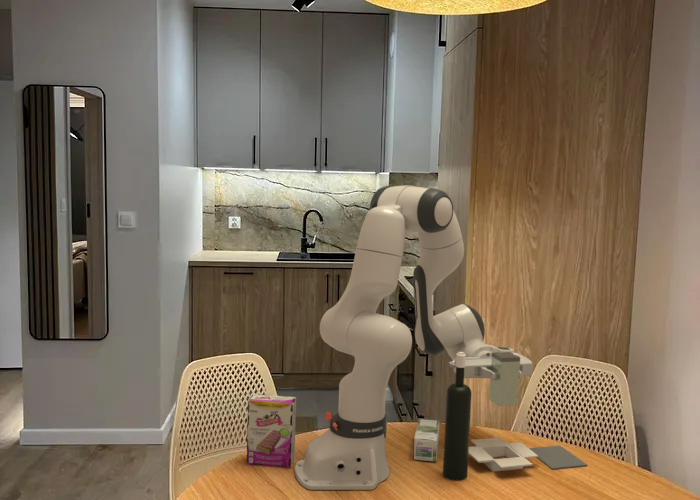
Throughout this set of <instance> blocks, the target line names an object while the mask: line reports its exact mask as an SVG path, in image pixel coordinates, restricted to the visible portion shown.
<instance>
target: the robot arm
mask: <svg viewBox="0 0 700 500" xmlns="http://www.w3.org/2000/svg"><path fill="white" fill-rule="evenodd" d="M407 232H409V233H410V232H413V233H417V237H418V242H419V246H420V256H419V260H418V263H417V265H416V266H415V268H413V272H412V275H413V276H412V278H413V279H412V283H413V284H412V285H413V289H412V290H413V301H414V314H415V315H414V317H415V318H414V319H415V321H414V322H415V323H414V337H415V343H416V344H417V346H418V348H419V350H420V351H421V352H422V353H424V354H427V355H430V356H434V357H436V356H438V355H440V354H442V353H443V352H445V351H446V352H447V354H448V356H449V357H450V359H451V361H449V362H448V366H449V367H451V368H453V372H454V373H455V374H456V354H457V353H458V352H465V355H466V357H465V368H464V379H482V380H484V379H489V380H490V379H491V380H498V373H497V372H496V371H491V361H492V353H495V352H511V353H513V354H515V355H517V356H519V357H520V369H519V380H520V379H522V378H523V377H529V376H530V377H531V376H532V374H533V369H534V367H533V361H532V360H531V359H529V358H528V357H525V356H524V355H522V354H521V353H517V352H515V350H514V349H513V348H511V347H504V346H496V345H492V344H487V343H485V342H483V341H484V340H485V334H486V333H485V332H486V329H485V325H484V320H483V318H482V316H481V315H480V313H479V312H478V310H476V309H475V308H473V306H471V305H468V304H466V303H461V304H458V305H456V306H453V307H451V308H448V309H447V310H445V311H443V312H440V313H438V314H435V315H434V305H433V295H434V292H435V290H436V288H437V287H439V285H440V284H441V283H442V282H443V280H445V279H446V278H447V277H448V276H450V275H451V274H452V273H454V271H455V270H456V269H457V268H458V267H459V266H460V264H461V263H462V261H463V258H464V257H465V256H464V255H465V245H464V239H463V235H462V231H461V228H460V224H459V220H458V217H457V215H456V213H455V210H454V204H453V201H452V200H451V198H450V196H449V194H448V193H447V192H445V191H444V190H441V189H438V188H434V187H431V188H428V187H422V186H415V185H396V186H395V185H386V186H385V185H384V186H382V187H379V188H378V189H377V190H376V191H375V192H374V193H373V196H372V197H371V201H370V204H369V210H368V212H367V213H366V215H365V218H364V219H363V222H362V226H361V229H360V232H359V235H358V239H357V243H356V249H355V253H354V258H353V264H352V268H351V273H350V276H349V281H348V282H347V286H346V288H345V290H344V292H343V294H342V295H341V297H340V299H339V300H338V301H337V303H336V304H335V305H333V306H332V307H331V308H329V309H327V311H326V312H324V314H323V316H322V318H321V320H320V323H319V333H320V337H321V339H322V340H323V342H324V343H326V344H327V345H328V346H329V347H331V348H333V349H334V350H335V351H338V352H341V353H344V354H348V355H350V356H352V357H354V365H353V368H352V372H349V373H348V374H346V375H344V376H343V378H341V380H340V382H339V384H338V386H339V387H338V406H337V407H338V411H337V412H336V413H335V414H333V413H332V412H330V411H326V413H325V414H324V419H325V421H326V422H328V423H329V429H327V430H326V431H324V432H323V433H321V434H320V435H319V436H318V437H316V438H315V439H313V440H312V441H311V442H310V443H309V444H308V445H307V447H306V451H305V456H304V458H303V459H299V460H298V461H297V462H296V464H295V466H294V467H295V468H294V475H295V478H296V480H297V482H298V483H299V484H300V485H301V486H302V487H303V488H305V489H307V490H310V491H313V490H315V491H319V490H320V491H325V490H326V491H327V490H328V491H329V490H330V491H332V490H333V491H337V490H338V491H340V490H341V491H343V490H345V491H346V490H347V491H348V490H349V491H351V490H352V491H354V490H355V491H356V490H357V491H358V490H359V491H360V490H365V491H368V490H374V489H375V488H376V487H377V486H378V484H381V482H383V481H385V480H386V479H388V477H389V476H390V468H389V465H388V459H387V454H386V453H387V451H386V442H385V441H386V440H385V439H386V436H387V429H388V427H387V426H388V425H387V424H388V423H387V420H388V419H387V414H386V399H387V388H388V383H389V379H390V377H391V374H392V373H393V371H394V369H395V368H396V367H397V366H398V365H400V364H401V363H403V362H404V361H405V360H406V359H407V357H408V356H409V354H410V353H411V350H412V345H413V336H412V332H411V329H410V328H409V327H408V326H407V325H406V323H403V322H401V321H400V320H398V319H396V318H394V317H392V316H388V315H384V314H380V313H377V310H378V308H379V305H380V304H381V302H382V301H383V300H384V299H385V298H386V297H388V296H389V295H392V294H393V293H394V292H395V291H396V289H397V287H398V284H399V283H398V282H399V277H400V271H401V267H402V262H403V261H402V260H403V255H404V250H405V249H404V248H405V240H406V237H405V236H406V234H407Z"/></svg>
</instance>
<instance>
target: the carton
mask: <svg viewBox="0 0 700 500" xmlns="http://www.w3.org/2000/svg"><path fill="white" fill-rule="evenodd" d="M470 441H471V443H472V444H473V445H474V446H469V450H468V455H469V456H470V457H472V458H473V459H474V460H475V461H476V462H477V463H479V464H480V463H482V464H484V465H485V466H486V467H487V468H488V469H489V470H490V471H491V472H502V471H503V472H504V471H513V470H523V468H524V467H532V466H533V463H532V462H530V461H529V460H528V459H531V458H532V459H533V458H536V457H538V455H537V454H535V453H534V452H533V451H531V450H530V449H529V448H530V447H527V446H526V445H525V444H524V443H522V442H514V443H513V442H511V443H510V442H509V443H507V442H506V441H504V440H503V439H502V438H501V437H489V438H479V439H471V440H470ZM498 457H505V458H498ZM536 459H537V458H536Z"/></svg>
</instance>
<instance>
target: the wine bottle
mask: <svg viewBox="0 0 700 500" xmlns="http://www.w3.org/2000/svg"><path fill="white" fill-rule="evenodd" d="M465 357H466V355H465V352H458V353H457V354H456V373H455V380H454V383H451V384H450V385H449V386H447V389H446V399H445V400H446V401H445V421H444V438H443V439H444V441H443V442H444V444H443V463H442V476H444V478H446V479H447V480H452V481H463V480H466V479H467V478H468V469H469V468H468V465H469V453H468V450H469V447H470V446H469V445H470V431H471V430H470V429H471V428H470V427H471V409H472V390H471V388H470V387H469V385H467V384H465V378H464V368H465Z"/></svg>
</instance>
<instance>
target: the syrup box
mask: <svg viewBox="0 0 700 500" xmlns="http://www.w3.org/2000/svg"><path fill="white" fill-rule="evenodd" d="M417 419H418V420H417V424H416V430H415V433H414V438H413V439H414V441H413V443H414V447H413V448H414V450H413V454H414V455H413V456H414V457H413V458H414V461H426V462H437V459H438V451H439V443H440V420H438V419H437V420H436V419H423V418H417Z"/></svg>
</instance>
